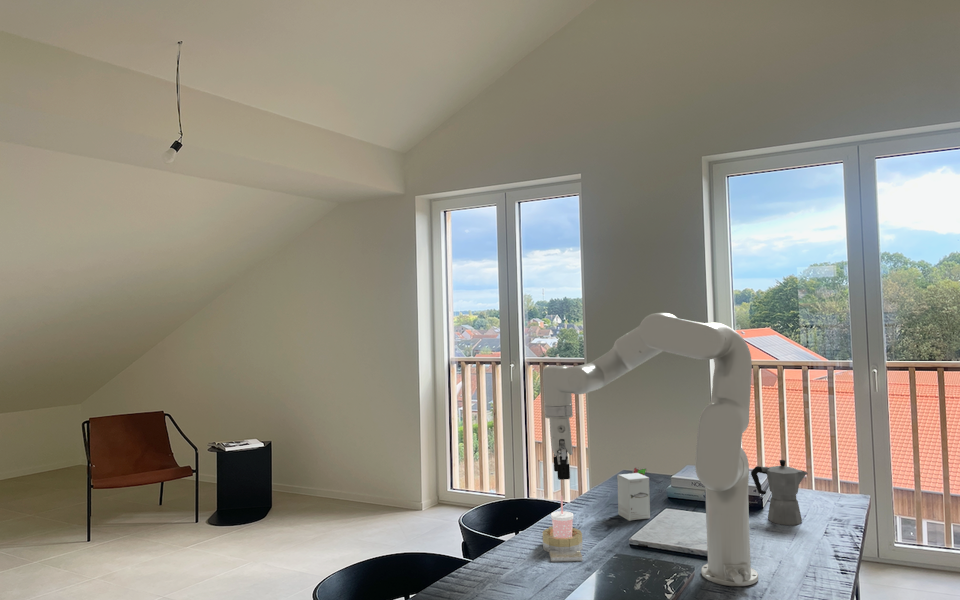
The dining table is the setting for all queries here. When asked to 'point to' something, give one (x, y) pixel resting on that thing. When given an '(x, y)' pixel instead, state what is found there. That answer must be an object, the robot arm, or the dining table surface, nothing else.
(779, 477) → the coffeepot
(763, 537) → the dining table surface
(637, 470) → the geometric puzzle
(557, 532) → the beverage cup
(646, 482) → the supplement box
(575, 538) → the yellow faceted ring
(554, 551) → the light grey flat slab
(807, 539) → the dining table surface
